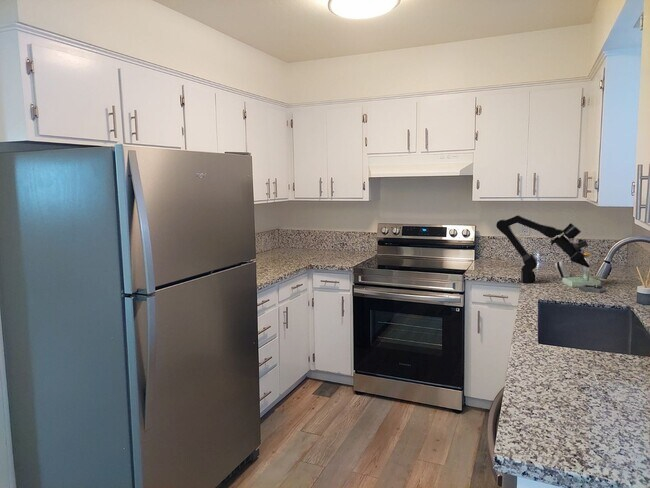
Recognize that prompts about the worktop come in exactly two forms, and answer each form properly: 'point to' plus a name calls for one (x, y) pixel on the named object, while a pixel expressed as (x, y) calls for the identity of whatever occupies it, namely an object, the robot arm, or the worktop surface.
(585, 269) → the lock pin
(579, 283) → the parts tray
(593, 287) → the tensioner block
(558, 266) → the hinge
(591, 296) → the worktop surface
